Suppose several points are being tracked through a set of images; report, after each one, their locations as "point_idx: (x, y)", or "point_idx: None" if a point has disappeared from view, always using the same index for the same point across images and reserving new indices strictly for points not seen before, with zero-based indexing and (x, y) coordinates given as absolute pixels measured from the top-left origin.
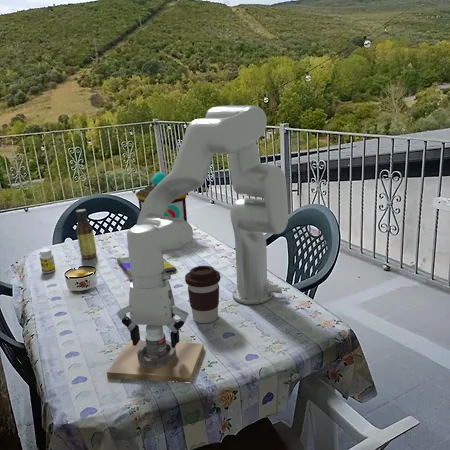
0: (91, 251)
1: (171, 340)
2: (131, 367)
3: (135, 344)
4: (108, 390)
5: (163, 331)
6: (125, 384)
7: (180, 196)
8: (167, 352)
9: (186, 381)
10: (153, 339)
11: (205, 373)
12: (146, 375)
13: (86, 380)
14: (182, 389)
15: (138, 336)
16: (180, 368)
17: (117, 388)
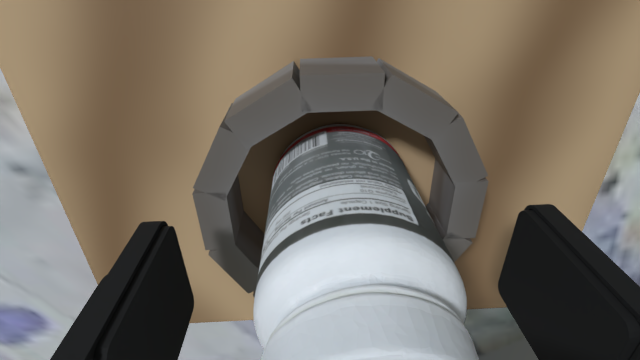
0: None
1: (537, 347)
2: (224, 284)
3: (189, 313)
4: (192, 353)
5: (452, 288)
6: (242, 320)
7: None
8: (394, 124)
9: None
10: None
11: (614, 212)
12: None
13: (47, 324)
14: (498, 312)
15: (163, 282)
16: (501, 256)
17: (222, 341)
